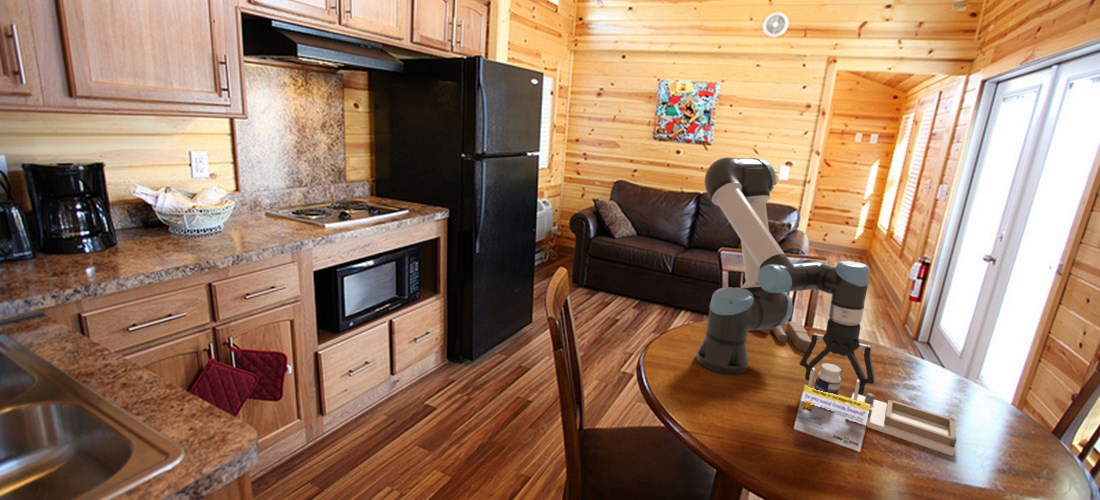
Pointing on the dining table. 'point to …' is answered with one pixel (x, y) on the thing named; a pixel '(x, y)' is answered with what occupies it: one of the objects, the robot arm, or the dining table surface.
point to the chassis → (911, 424)
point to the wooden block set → (792, 335)
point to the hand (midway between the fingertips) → (831, 397)
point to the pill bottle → (828, 379)
